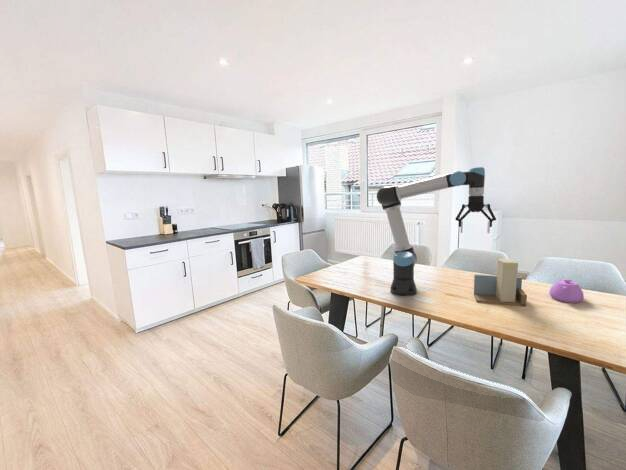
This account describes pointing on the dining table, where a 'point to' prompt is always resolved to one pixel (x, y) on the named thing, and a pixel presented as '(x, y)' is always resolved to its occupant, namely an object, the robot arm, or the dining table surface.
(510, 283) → the toy refrigerator
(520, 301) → the cleat board
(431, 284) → the dining table surface
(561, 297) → the purple dimpled dome
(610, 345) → the dining table surface
